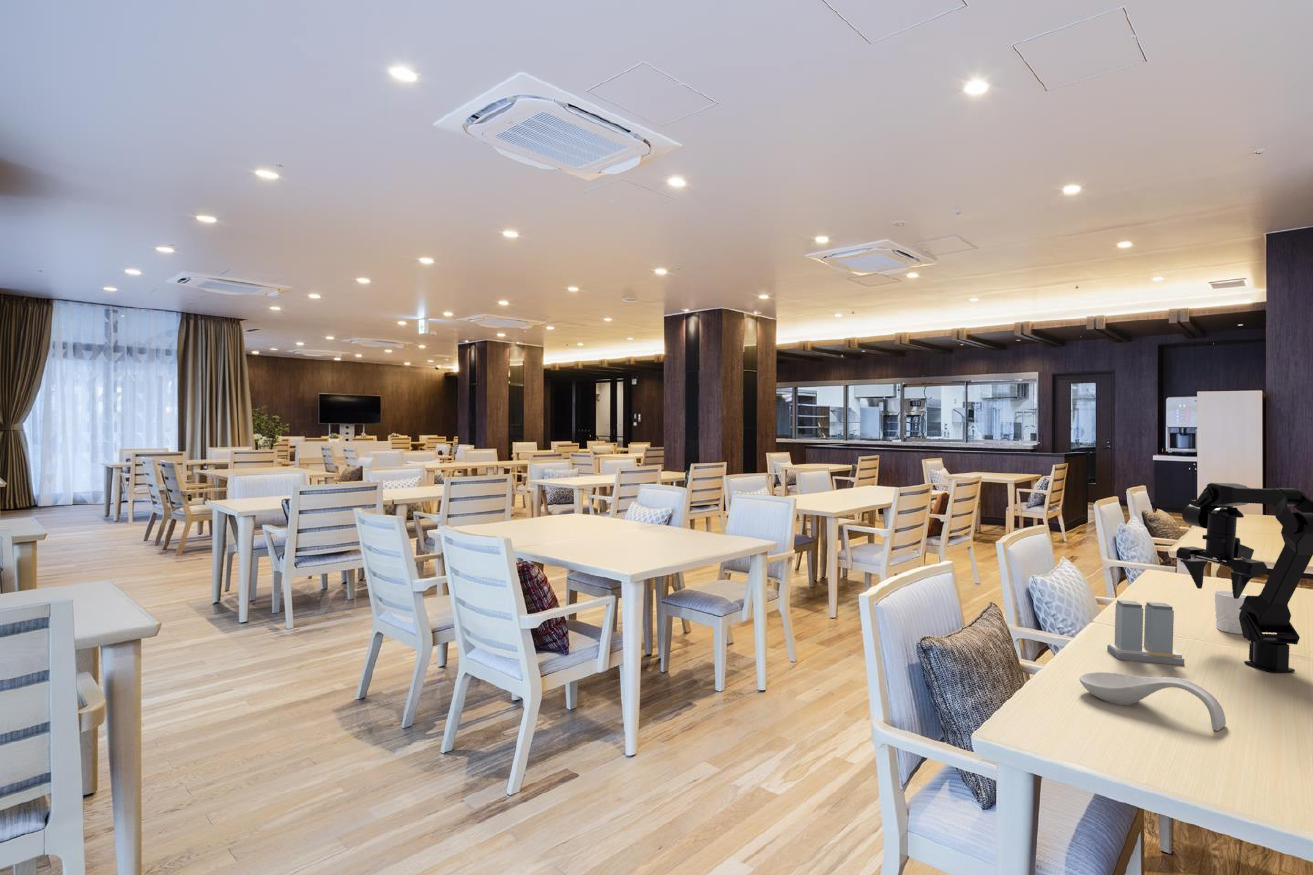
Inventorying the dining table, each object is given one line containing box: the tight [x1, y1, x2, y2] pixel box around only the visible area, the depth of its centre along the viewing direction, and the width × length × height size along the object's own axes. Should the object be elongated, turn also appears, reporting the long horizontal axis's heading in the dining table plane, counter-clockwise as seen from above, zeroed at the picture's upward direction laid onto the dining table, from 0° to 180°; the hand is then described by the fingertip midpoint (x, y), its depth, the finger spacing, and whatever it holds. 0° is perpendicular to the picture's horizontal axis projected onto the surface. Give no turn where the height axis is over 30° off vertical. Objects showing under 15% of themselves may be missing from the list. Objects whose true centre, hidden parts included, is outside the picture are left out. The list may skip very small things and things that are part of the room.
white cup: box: [1214, 590, 1251, 635], centre depth 192 cm, size 8×8×10 cm
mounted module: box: [1114, 599, 1144, 651], centre depth 168 cm, size 4×4×11 cm
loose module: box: [1143, 601, 1175, 654], centre depth 167 cm, size 4×4×11 cm
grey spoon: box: [1079, 671, 1227, 732], centre depth 137 cm, size 24×12×7 cm, turn 38°
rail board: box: [1106, 643, 1185, 666], centre depth 167 cm, size 14×7×2 cm, turn 76°
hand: (1217, 593), depth 178 cm, fingers open, 9 cm apart
